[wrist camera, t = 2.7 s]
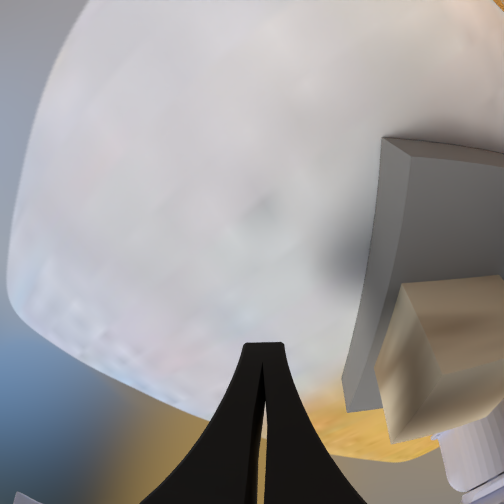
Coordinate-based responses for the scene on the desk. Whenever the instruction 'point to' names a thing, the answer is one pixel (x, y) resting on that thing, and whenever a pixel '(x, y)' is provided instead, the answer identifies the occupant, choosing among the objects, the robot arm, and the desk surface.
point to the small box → (500, 3)
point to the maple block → (442, 356)
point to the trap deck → (423, 239)
